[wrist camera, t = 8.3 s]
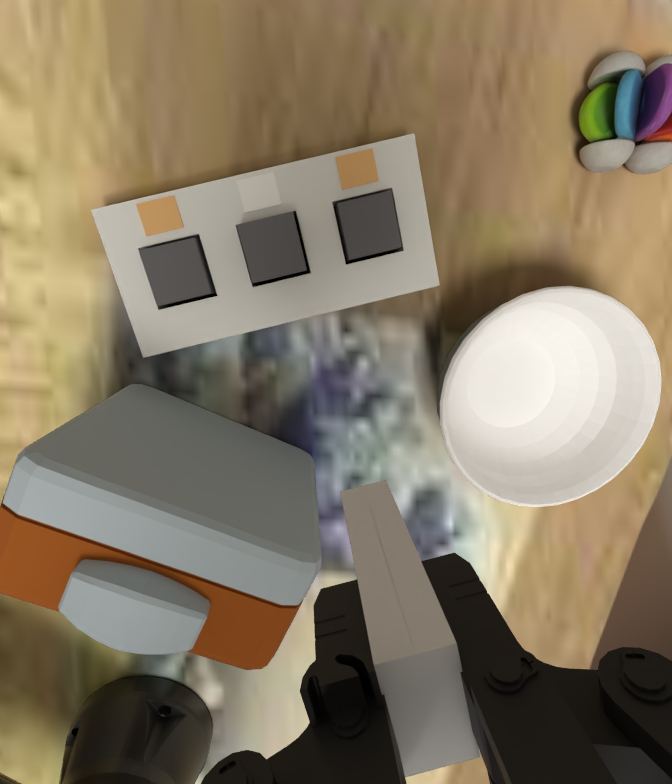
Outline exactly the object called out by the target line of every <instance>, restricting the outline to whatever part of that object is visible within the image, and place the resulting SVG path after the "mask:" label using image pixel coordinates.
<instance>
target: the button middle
mask: <svg viewBox="0 0 672 784" xmlns="http://www.w3.org/2000/svg"><path fill="white" fill-rule="evenodd" d="M237 228H238V232H239V235H240V239H241V243H242V246H243V250H244V253H245V257H246V261H247V264H248V268H249V272H250V275H251V279H252V283H258V282H262V281H266V280H270V279H274V278H278V277H283V276H287V275H291V274H295V273H299V272H303V271H307V268H306V264H305V259H304V255H303V251H302V247H301V243H300V239H299V235H298V230H297V226H296V222H295V218H294V214H293V211H292V212H288V213H284V214H280V215H276V216H271V217H267V218H263V219H259V220H255V221H251V222H246V223H242V224H238V225H237Z"/></svg>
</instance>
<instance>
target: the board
mask: <svg viewBox="0 0 672 784" xmlns="http://www.w3.org/2000/svg"><path fill="white" fill-rule="evenodd" d="M390 190H391V192H392V197H393V202H394V208H395V213H396V219H397V224H398V229H399V235H400V240H401V245H402V247H401V248H398V249H396V253H392V254H388V255H384V256H380V257H376V258H372V259H367V260H363V261H359V262H355V263H351V264H347V265H346V263H345V258H344V254H343V249H342V245H341V240H340V236H339V231H338V226H337V222H336V217H335V213H334V208H333V207H336V205H337V203H340V202H344V201H349V200H353V199H357V198H361V197H365V196H370V195H374V194H378V193H382V192H386V191H390ZM91 211H92V214H93V217H94V220H95V222H96V225H97V228H98V231H99V234H100V237H101V239H102V242H103V245H104V248H105V251H106V254H107V256H108V259H109V262H110V265H111V268H112V271H113V273H114V276H115V279H116V282H117V285H118V288H119V290H120V293H121V296H122V299H123V302H124V305H125V307H126V310H127V313H128V316H129V319H130V322H131V324H132V327H133V330H134V333H135V336H136V339H137V341H138V344H139V347H140V350H141V353H142V356H143V358H145V357H149V356H153V355H157V354H161V353H165V352H169V351H173V350H177V349H182V348H186V347H190V346H194V345H198V344H202V343H206V342H210V341H214V340H218V339H223V338H227V337H231V336H235V335H239V334H243V333H247V332H251V331H255V330H259V329H263V328H268V327H272V326H276V325H280V324H284V323H288V322H292V321H296V320H300V319H304V318H309V317H313V316H317V315H321V314H325V313H329V312H333V311H337V310H341V309H345V308H350V307H354V306H358V305H362V304H366V303H370V302H374V301H378V300H382V299H386V298H391V297H395V296H399V295H403V294H407V293H411V292H415V291H419V290H423V289H427V288H432V287H436V286H440V284H439V279H438V273H437V267H436V261H435V255H434V249H433V243H432V237H431V231H430V225H429V219H428V213H427V207H426V201H425V195H424V189H423V183H422V177H421V171H420V165H419V159H418V153H417V147H416V141H415V135H414V133H413V134H409V135H405V136H401V137H396V138H392V139H388V140H384V141H379V142H375V143H371V144H367V145H363V146H358V147H354V148H350V149H346V150H341V151H337V152H333V153H329V154H325V155H320V156H316V157H312V158H308V159H303V160H299V161H295V162H291V163H287V164H282V165H278V166H274V167H270V168H265V169H261V170H257V171H253V172H249V173H244V174H240V175H236V176H232V177H227V178H223V179H219V180H215V181H211V182H206V183H202V184H198V185H194V186H189V187H185V188H181V189H177V190H173V191H168V192H164V193H160V194H156V195H151V196H147V197H143V198H139V199H135V200H130V201H126V202H122V203H118V204H113V205H109V206H105V207H101V208H97V209H92V210H91ZM292 211H293V214H294V216H296V217H297V221H298V225H299V229H300V233H301V238H302V242H303V246H304V250H305V254H306V258H307V263H308V267H309V271H310V274H305V275H301V276H297V277H293V278H289V279H285V280H281V281H277V282H272V283H268V284H264V285H260V286H256V285H255V283H252V279H251V275H250V272H249V268H248V264H247V261H246V257H245V253H244V250H243V246H242V243H241V239H240V235H239V232H238V228H237V225H238V224H242V223H246V222H251V221H255V220H259V219H263V218H267V217H271V216H276V215H280V214H284V213H288V212H292ZM190 238H197V239H201V242H202V246H203V249H204V252H205V256H206V259H207V262H208V266H209V269H210V273H211V276H212V279H213V283H214V286H215V289H216V293H217V296H215V297H210V298H206V299H202V300H198V301H194V302H190V303H186V304H181V305H177V306H173V307H168V305H162V306H158V305H157V302H156V299H155V296H154V293H153V290H152V287H151V284H150V281H149V278H148V275H147V272H146V269H145V266H144V263H143V260H142V257H141V254H140V250H144V249H148V248H152V247H156V246H160V245H165V244H169V243H173V242H177V241H181V240H186V239H190Z"/></svg>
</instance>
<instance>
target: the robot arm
mask: <svg viewBox="0 0 672 784" xmlns="http://www.w3.org/2000/svg"><path fill="white" fill-rule="evenodd" d="M341 498H342V503H343V508H344V513H345V518H346V523H347V529H348V534H349V539H350V544H351V549H352V555H353V560H354V565H355V570H356V575H357V580H354V581H350V582H346V583H342V584H338V585H334V586H331V587H327V588H323V589H321V590H320V592H319V595H318V597H317V599H316V601H315V604H314V623H315V639H316V641H315V649H316V661H315V662H313V663H312V664H311V665H310V666H309V668H308V670H307V671H306V673H305V675H304V676H303V678H302V683H301V688H300V693H301V696H302V699H303V702H304V705H305V708H306V711H307V714H308V717H309V720H310V723H309V725H308V727H307V728H306V729H305V731H304V732H303V733H302V734H301V735H300V736H299V738H297V739H296V740H295V741H293V742H292V743H291V744H290V745H288V746H287V747H285V748H284V749H282V750H281V751H279V752H278V753H276V754H274V755H273V756H271V757H270V758H268V759H267V760H266V759H265V758H264V757H263V756H262V755H261V754H260V753H258V752H253V751H249V750H245V751H241V752H236V753H232V754H231V755H229V756H227V757H226V758H224V759H223V760H221V761H219V762H218V763H217V764H216V765H215V766H214V767H213V768H212V769H211V770H210V772H209V773H208V774H207V775H206V776H205V777H204V779H203V781H202V783H201V784H406V780H405V777H408V776H412V775H415V774H419V773H423V772H427V771H430V770H434V769H438V768H441V767H445V766H449V765H452V764H456V763H460V762H464V761H467V760H471V759H475V758H478V757H480V754H479V750H480V752H481V755H482V758H483V760H484V763H485V765H486V768H487V771H488V776H489V781H490V784H672V661H671V660H669V659H667V658H665V657H663V656H662V655H660V654H658V653H655V652H652V651H649V650H645V649H642V648H629V647H622V648H618V649H615V650H612V651H609V652H608V653H607V654H606V655H605V656H604V657H603V658H602V659H601V660H600V662H599V667H598V670H588V669H568V668H561V667H555V666H552V665H549V664H546V663H543V662H541V661H539V660H538V659H536V658H535V657H534V655H533V654H531V653H529V652H527V651H525V650H524V649H523V648H522V647H521V645H520V644H519V643H518V642H517V640H516V638H515V637H514V635H513V633H512V632H511V630H510V628H509V627H508V625H507V623H506V622H505V620H504V619H503V617H502V615H501V614H500V612H499V610H498V609H497V607H496V605H495V604H494V602H493V600H492V599H491V597H490V595H489V594H488V593H487V591H486V589H485V587H484V585H483V584H482V582H481V581H480V580H479V577H478V576H477V574H476V572H475V571H474V569H473V567H472V566H471V564H470V563H469V562H467V561H466V560H465V559H463V558H462V557H460V556H459V555H457V554H456V553H452V554H448V555H444V556H440V557H436V558H432V559H429V560H425V561H421V560H420V558H419V555H418V553H417V551H416V548H415V546H414V544H413V541H412V539H411V537H410V535H409V532H408V530H407V528H406V525H405V523H404V521H403V518H402V516H401V514H400V512H399V509H398V507H397V505H396V502H395V500H394V498H393V495H392V493H391V491H390V488H389V486H388V484H387V482H386V480H384V481H380V482H376V483H372V484H368V485H364V486H360V487H357V488H353V489H349V490H345V491H341ZM212 730H213V729H212V720H211V717H210V714H209V712H208V709H207V708H206V706H205V705H204V703H203V702H202V701H201V700H200V698H199V697H198V696H196V695H195V694H194V693H193V692H192V691H190V690H189V689H187V688H186V687H184V686H182V685H180V684H178V683H175V682H173V681H169V680H166V679H162V678H156V677H131V678H126V679H121V680H118V681H115V682H112V683H110V684H107V685H105V686H104V687H102V688H100V689H99V690H97V691H96V692H94V693H93V694H92V695H91V696H90V697H89V698H88V699H87V700H86V701H85V702H84V704H83V705H82V707H81V709H80V710H79V712H78V714H77V716H76V718H75V720H74V722H73V724H72V726H71V728H70V731H69V734H68V737H67V740H66V746H65V752H64V757H63V763H62V769H61V775H60V780H59V784H195V782H196V780H197V778H198V776H199V774H200V773H201V771H202V769H203V767H204V765H205V763H206V760H207V757H208V753H209V748H210V743H211V738H212ZM478 747H479V749H478ZM0 784H21V783H19V782H17V781H15V780H13V779H11V778H9V777H7V776H5V775H3V774H1V773H0Z"/></svg>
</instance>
